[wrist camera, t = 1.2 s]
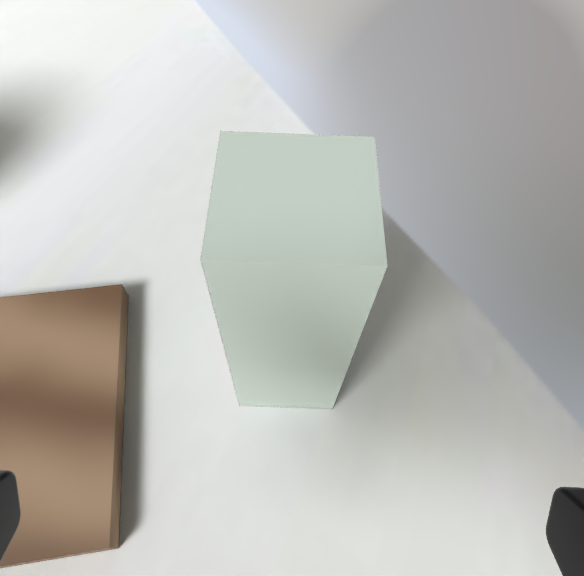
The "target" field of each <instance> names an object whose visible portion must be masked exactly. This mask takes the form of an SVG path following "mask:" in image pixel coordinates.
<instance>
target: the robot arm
mask: <svg viewBox="0 0 584 576" xmlns="http://www.w3.org/2000/svg"><path fill="white" fill-rule="evenodd" d="M20 517H21V509H20V502H19V494H18V487H17V480H16V476H15V474H14V473H13V472H11V471H9V470H0V562H1V560H2V558H3V556H4V554H5V552H6V550H7V548H8V546H9V544H10V542H11V540H12V538H13V536H14V534H15V532H16V530H17V528H18V525H19V522H20ZM546 536H547V540H548V543H549V546H550V548H551V550H552V553H553V555H554V557H555V559H556V562H557V564H558V566H559V568H560V571H561V573H562V575H563V576H584V488H576V487H560V488H557V489H556V490H555V492H554V494H553V497H552V502H551V507H550V511H549V516H548V520H547V525H546Z"/></svg>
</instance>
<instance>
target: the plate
mask: <svg viewBox="0 0 584 576" xmlns="http://www.w3.org/2000/svg"><path fill="white" fill-rule="evenodd" d="M127 321H128V294H127V292H126V291H125V289H124V287H123V285H122V284H121V285H112V286H103V287H94V288H84V289H75V290H66V291H57V292H48V293H39V294H30V295H20V296H11V297H2V298H0V470H9V471H11V472H13V473H14V474H15V476H16V480H17V487H18V494H19V502H20V509H21V517H20V522H19V525H18V528H17V530H16V532H15V534H14V536H13V538H12V540H11V542H10V544H9V546H8V548H7V550H6V552H5V554H4V556H3V558H2V560H1V562H0V568H4V567H10V566H16V565H22V564H28V563H34V562H40V561H46V560H52V559H58V558H64V557H70V556H76V555H82V554H88V553H94V552H100V551H106V550H112V549H118V548H119V524H120V499H121V473H122V448H123V422H124V397H125V372H126V346H127Z"/></svg>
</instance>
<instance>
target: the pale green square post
mask: <svg viewBox="0 0 584 576" xmlns="http://www.w3.org/2000/svg"><path fill="white" fill-rule="evenodd" d="M200 260H201V263H202V267H203V271H204V275H205V279H206V282H207V286H208V290H209V294H210V298H211V301H212V305H213V309H214V313H215V317H216V320H217V324H218V328H219V332H220V336H221V339H222V343H223V347H224V351H225V355H226V358H227V362H228V366H229V370H230V373H231V377H232V381H233V385H234V389H235V392H236V396H237V400H238V404H239V406H261V407H291V408H322V409H333V406H334V404H335V401H336V399H337V396H338V393H339V391H340V388H341V386H342V383H343V380H344V378H345V375H346V373H347V370H348V367H349V365H350V362H351V360H352V357H353V354H354V352H355V349H356V347H357V344H358V341H359V339H360V336H361V334H362V331H363V329H364V326H365V323H366V321H367V318H368V316H369V313H370V310H371V308H372V305H373V303H374V300H375V297H376V295H377V292H378V290H379V287H380V284H381V282H382V279H383V277H384V274H385V271H386V269H387V266H388V265H387V255H386V245H385V235H384V225H383V215H382V205H381V195H380V185H379V175H378V165H377V155H376V146H375V137H359V136H334V135H309V134H284V133H259V132H234V131H220V137H219V143H218V150H217V156H216V162H215V169H214V175H213V182H212V188H211V194H210V201H209V207H208V213H207V220H206V226H205V233H204V239H203V245H202V252H201V258H200Z"/></svg>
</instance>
